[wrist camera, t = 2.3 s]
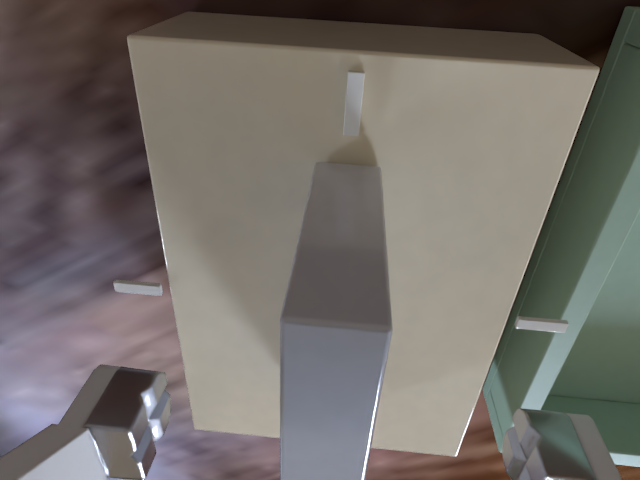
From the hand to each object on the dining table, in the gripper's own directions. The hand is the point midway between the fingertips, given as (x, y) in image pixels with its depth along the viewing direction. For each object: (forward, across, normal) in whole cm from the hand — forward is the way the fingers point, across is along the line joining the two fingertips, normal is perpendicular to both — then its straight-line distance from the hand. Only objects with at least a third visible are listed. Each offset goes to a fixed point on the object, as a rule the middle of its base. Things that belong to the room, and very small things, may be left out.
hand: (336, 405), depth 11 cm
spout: (+3, 0, 0) cm, 3 cm away
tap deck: (+7, 0, 0) cm, 7 cm away
